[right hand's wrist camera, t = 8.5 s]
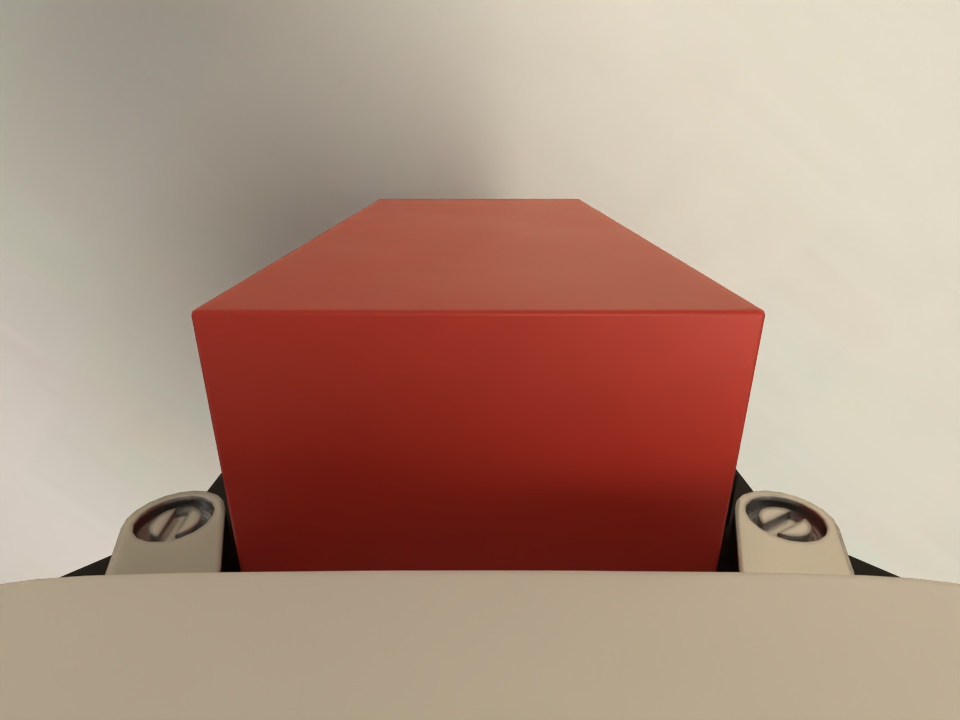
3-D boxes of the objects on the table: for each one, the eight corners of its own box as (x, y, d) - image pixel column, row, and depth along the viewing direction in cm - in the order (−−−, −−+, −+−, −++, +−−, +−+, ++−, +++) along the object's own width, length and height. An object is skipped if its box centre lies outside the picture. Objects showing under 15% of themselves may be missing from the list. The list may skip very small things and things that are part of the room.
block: (579, 198, 16) (769, 310, 6) (563, 462, 19) (664, 852, 9) (379, 198, 16) (188, 311, 6) (395, 462, 19) (294, 852, 9)
